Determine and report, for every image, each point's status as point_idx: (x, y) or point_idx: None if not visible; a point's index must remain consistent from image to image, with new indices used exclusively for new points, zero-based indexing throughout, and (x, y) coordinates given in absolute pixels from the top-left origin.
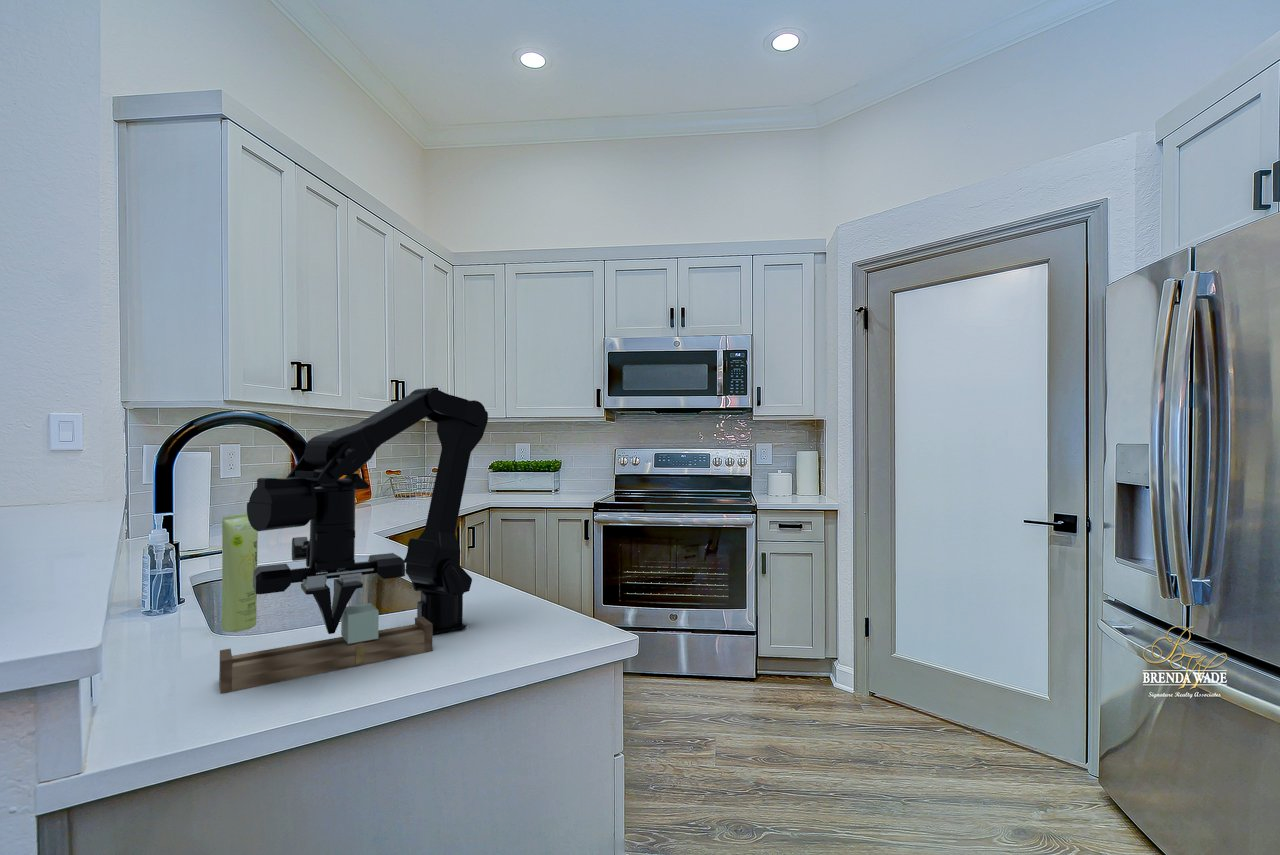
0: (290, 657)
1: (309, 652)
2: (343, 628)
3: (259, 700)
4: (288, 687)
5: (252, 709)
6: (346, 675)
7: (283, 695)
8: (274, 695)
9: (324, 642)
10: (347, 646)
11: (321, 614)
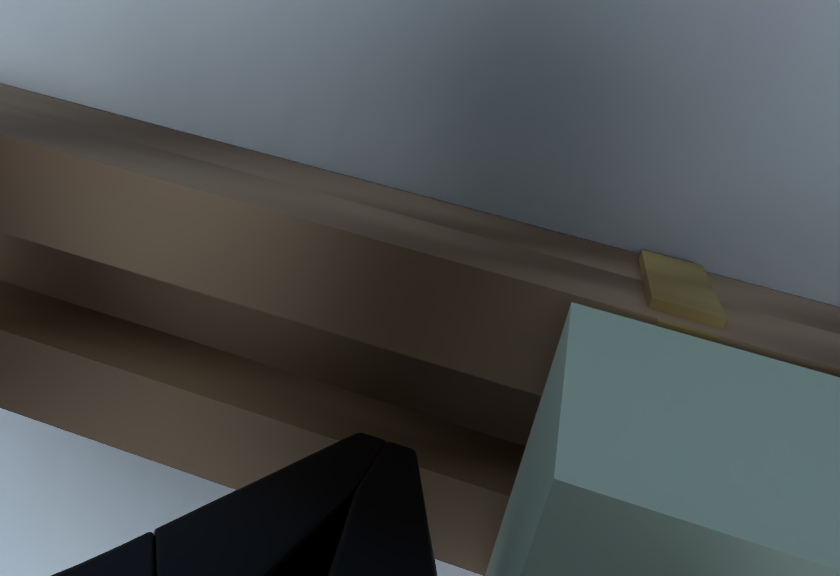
0: (103, 435)
1: (216, 471)
2: (530, 457)
3: (37, 503)
4: (162, 466)
5: (9, 565)
6: (443, 565)
7: (127, 537)
8: (95, 504)
9: (383, 335)
10: (480, 570)
11: (211, 503)
